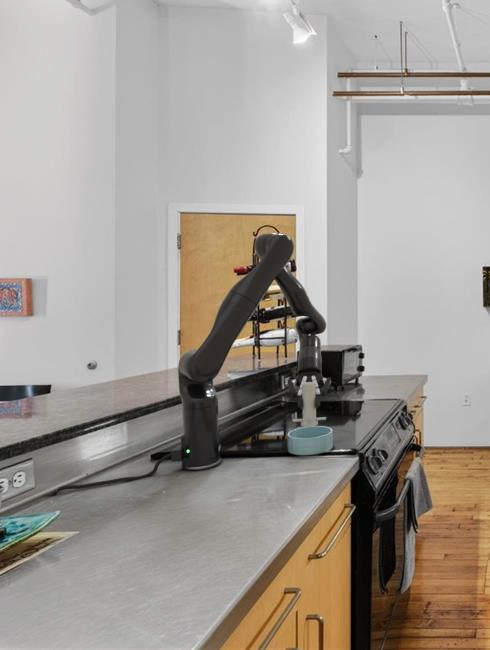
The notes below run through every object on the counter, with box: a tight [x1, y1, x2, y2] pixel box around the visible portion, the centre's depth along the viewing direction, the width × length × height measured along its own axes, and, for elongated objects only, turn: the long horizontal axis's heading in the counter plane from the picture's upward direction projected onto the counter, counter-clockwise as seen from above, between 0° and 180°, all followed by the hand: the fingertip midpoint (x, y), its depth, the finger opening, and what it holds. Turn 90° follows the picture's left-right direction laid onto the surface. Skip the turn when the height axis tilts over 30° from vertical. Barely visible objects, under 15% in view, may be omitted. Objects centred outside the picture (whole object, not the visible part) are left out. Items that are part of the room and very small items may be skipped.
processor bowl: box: [286, 425, 334, 456], centre depth 146 cm, size 14×14×6 cm
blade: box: [292, 382, 327, 427], centre depth 146 cm, size 10×9×13 cm
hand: (308, 407), depth 144 cm, fingers closed on blade, 4 cm apart
